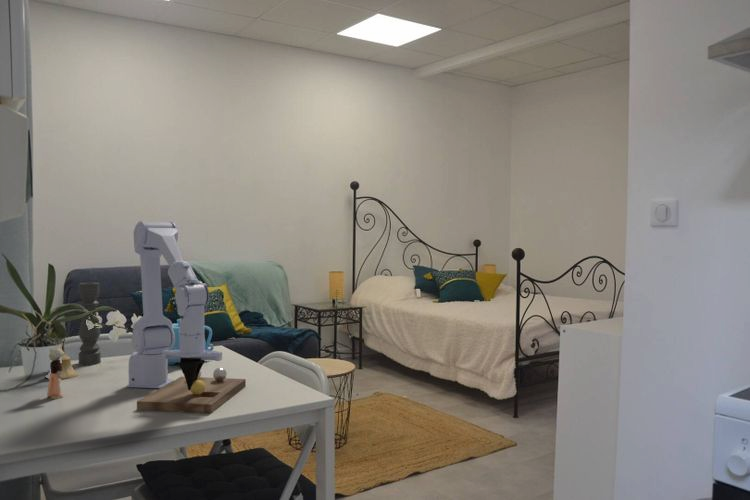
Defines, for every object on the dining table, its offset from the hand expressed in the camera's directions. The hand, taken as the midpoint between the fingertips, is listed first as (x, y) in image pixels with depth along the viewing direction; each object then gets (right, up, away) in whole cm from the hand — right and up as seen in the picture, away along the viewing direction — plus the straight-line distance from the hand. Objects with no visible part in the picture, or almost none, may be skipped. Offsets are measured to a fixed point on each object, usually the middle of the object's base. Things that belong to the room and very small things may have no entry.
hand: (192, 389), depth 146 cm
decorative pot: (-17, -2, +45) cm, 49 cm away
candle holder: (-45, -2, +41) cm, 61 cm away
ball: (+1, 0, 0) cm, 1 cm away
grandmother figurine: (-35, -3, +3) cm, 35 cm away
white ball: (-3, +1, +14) cm, 14 cm away
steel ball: (+3, +1, +13) cm, 13 cm away
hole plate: (-1, -3, +4) cm, 5 cm away
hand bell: (-45, -2, +24) cm, 51 cm away
